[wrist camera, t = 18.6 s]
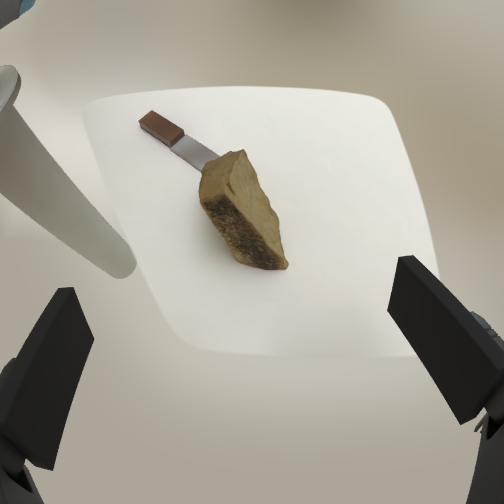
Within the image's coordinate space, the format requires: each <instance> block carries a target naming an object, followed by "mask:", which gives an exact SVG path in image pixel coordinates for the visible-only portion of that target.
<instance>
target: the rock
mask: <svg viewBox="0 0 504 504" xmlns="http://www.w3.org/2000/svg"><path fill="white" fill-rule="evenodd" d="M201 173H202V177H201V181H200V185H199V191H198V192H199V198H200V203H201V206H202V207H203V209H204V210H205V212H206V213H207V215H208V217H209V218H210V220H211V221H212V223H213V225H214V226H215V227H216V228H217V229H218V231H219V232H220V233H221V235H222V236H223V237H224V238H225V240H226V242H227V244H228V246H229V247H230V248H231V251H232V253H233V255H234V256H235V257H236V259H237V261H239V262H240V263H243V264H246V265H250V266H253V267H258V268H261V269H266V270H275V269H286V268H287V267H288V262H287V260H286V259H285V256H284V252H283V248H282V244H281V237H280V231H279V219H278V217H277V214H276V213H275V212H274V210H273V209H272V208H271V206H270V202H269V199H268V197H267V196H266V195H265V193H264V192H263V190H262V189H261V187H260V185H259V182H258V178H257V174H256V172H255V170H254V168H253V166H252V165H251V163H250V161H249V160H248V158H247V154H246V152H245V150H244V149H242V150H240V151H237V152H232V151H230V152H228V153H226V154H224V155H223V156H221V157H219V158H217V159H215V160H210V161H208V162H206V164H205V166H204V167H203V169H202V171H201Z"/></svg>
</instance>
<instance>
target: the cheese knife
mask: <svg viewBox="0 0 504 504" xmlns="http://www.w3.org/2000/svg"><path fill="white" fill-rule="evenodd" d="M139 124H140V126H141V128H142V129H144V130H145V131H147V132H148V133H150V134H151V135H153V136H154V137H156V138H157V139H159V140H160V141H161V142H163V143H164V144H166V145H167V146H169V147H170V150H171V151H173V152H174V153H175V154H177V155H178V156H180V157H181V158H183V159H184V160H185V161H187V162H188V163H190V164H191V165H193V166H194V167H195V168H197V169H198V170H200V171H202V169H203V167H204V166H205V164H206V162H208V161H210V160H215V159H217V158H219V157H220V156H219V155H217V154H216V153H214V152H213V151H211V150H210V149H208V148H207V147H205V146H204V145H202V144H201V143H199V142H198V141H196V140H195V139H193V138H191V137H190V136H188V135H187V134H186V135H185V134H184V130H183V129H181V128H180V127H178V126H177V125H175V124H173V123H172V122H170V121H169V120H167V119H165V118H164V117H162V116H161V115H159V114H157V113H156V112H154V111H152V110H151V111H150V112H149V113H148V114H146V115H145V116H144V117H143V118H141V119H140V120H139Z"/></svg>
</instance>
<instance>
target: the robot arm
mask: <svg viewBox="0 0 504 504" xmlns="http://www.w3.org/2000/svg"><path fill="white" fill-rule="evenodd" d="M35 1H36V0H0V29H1V28H3V27H4V26H6V25H7V24H9V23H10V22H12V21H14V20H16V19H18V18H19V16H20V15H22V14H23V13H25V12H26V11H28V10H29V9H30V8H32V7H33V5H34V4H35ZM387 311H388V312H389V314H390V315H391V317H392V318H393V320H394V321H395V323H396V324H397V325H398V327H399V328H400V330H401V331H402V333H403V334H404V336H405V337H406V339H407V340H408V342H409V343H410V345H411V346H412V348H413V349H414V351H415V352H416V354H417V355H418V357H419V358H420V360H421V362H422V363H423V364H424V366H425V368H426V369H427V371H428V372H429V374H430V376H431V377H432V378H433V380H434V382H435V384H436V385H437V387H438V388H439V390H440V392H441V393H442V395H443V397H444V398H445V400H446V402H447V403H448V405H449V407H450V408H451V410H452V412H453V413H454V415H455V417H456V418H457V420H458V422H459V424H460V425H462V424H464V423H466V422H468V421H470V420H472V419H474V418H476V417H477V415H478V414H479V413H480V411H481V410H482V409H483V407H484V408H485V409H486V411H487V413H486V414H485V416H484V417H483V418H482V420H481V421H480V422H479V423H478V425H477V426H476V428H475V430H474V432H477V430H478V429H479V428H480V427H481V426H482V425H483V427H482V430H481V431H480V433H482V434H481V441H480V446H479V451H478V457H477V461H476V466H475V471H474V475H473V479H472V483H471V487H470V491H469V494H468V498H467V502H466V504H504V341H503V340H502V339H501V337H500V336H498V334H497V333H496V332H495V331H494V329H491V326H490V325H489V324H488V323H487V322H486V321H485V320H484V319H483V318H482V317H481V316H479V315H477V314H476V313H474V312H469V311H468V310H467V309H466V308H465V307H464V306H463V305H462V303H461V302H459V300H458V299H457V298H456V297H455V296H454V295H453V294H452V293H451V292H450V291H449V290H448V289H447V288H446V287H445V286H444V285H443V284H442V283H441V282H440V281H439V280H438V279H437V278H436V277H435V276H434V275H433V274H432V273H431V272H430V271H429V270H428V269H427V268H426V267H425V266H424V265H423V264H422V263H421V262H420V261H419V260H418V259H417V258H416V257H415V256H414V255H411V256H403V257H398V262H397V268H396V273H395V278H394V282H393V287H392V292H391V296H390V301H389V305H388V309H387ZM93 341H94V337H93V335H92V332H91V330H90V328H89V325H88V323H87V321H86V318H85V316H84V313H83V311H82V309H81V306H80V303H79V301H78V298H77V295H76V293H75V290H74V287H67V288H58V290H57V291H56V292H55V294H54V295H53V297H52V299H51V300H50V302H49V303H48V305H47V306H46V308H45V310H44V311H43V313H42V315H41V316H40V318H39V319H38V321H37V323H36V324H35V326H34V327H33V329H32V331H31V333H30V334H29V336H28V338H27V339H26V341H25V343H24V345H23V347H22V348H21V350H20V352H19V354H18V356H17V357H16V358H13V359H11V360H10V362H9V363H8V364H7V365H6V366H5V367H4V368H3V370H2V372H1V374H0V504H44V502H43V500H42V498H41V496H40V494H39V492H38V490H37V488H36V486H35V483H34V481H33V479H32V477H31V474H30V472H29V470H28V469H27V467H26V466H25V465H24V463H25V459H28V460H29V461H30V462H31V463H32V464H33V465H34V466H36V467H40V468H43V469H47V470H51V471H53V469H54V464H55V460H56V456H57V452H58V449H59V445H60V441H61V438H62V434H63V430H64V427H65V423H66V420H67V417H68V413H69V410H70V407H71V404H72V401H73V398H74V394H75V392H76V388H77V385H78V383H79V380H80V377H81V374H82V371H83V368H84V366H85V363H86V360H87V357H88V355H89V352H90V349H91V347H92V344H93Z"/></svg>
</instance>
